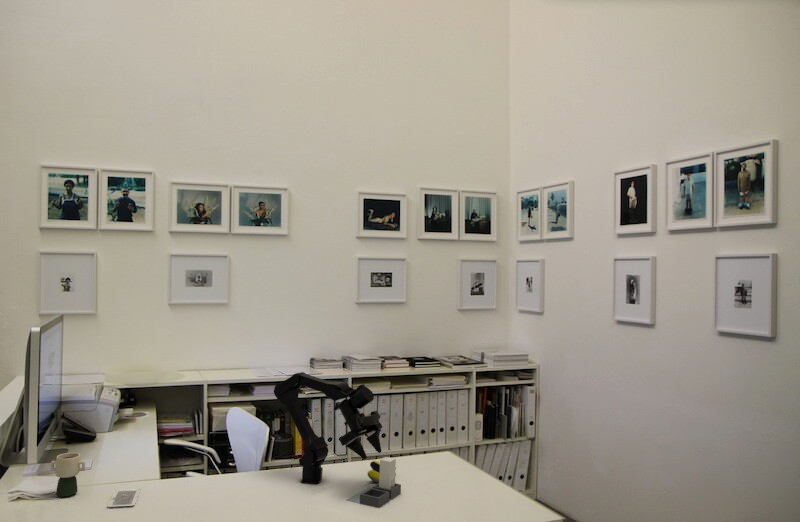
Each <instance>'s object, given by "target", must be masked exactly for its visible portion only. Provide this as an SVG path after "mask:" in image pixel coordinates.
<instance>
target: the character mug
mask: <svg viewBox="0 0 800 522" xmlns="http://www.w3.org/2000/svg"><path fill="white" fill-rule="evenodd" d="M85 469H86V461H84V460H81V454H80V453H79V452H65V453H60V454H58V455H57V456H56V458H55V460H51V462H50V471H52V472H55V476H56V477H57V478H58V480H57V485H56V491H55V495H56V496H58V497H62V498H64V497H69V496H72V495H74V494H77V493H78V482H77V475H79V474H80V472H85Z"/></svg>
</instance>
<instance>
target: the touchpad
mask: <svg viewBox="0 0 800 522" xmlns="http://www.w3.org/2000/svg"><path fill="white" fill-rule="evenodd" d="M140 491H141V488H134V489H130V488H129V489H116V490H114V492H113V495H112V497H111V499H110V501H109V502H108V504H107V508H114V507H115V508H116V507H128V506H129V507H130V506H131V507H132V506H135V504H136V502H137V499H138V497H139V494H140Z"/></svg>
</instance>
